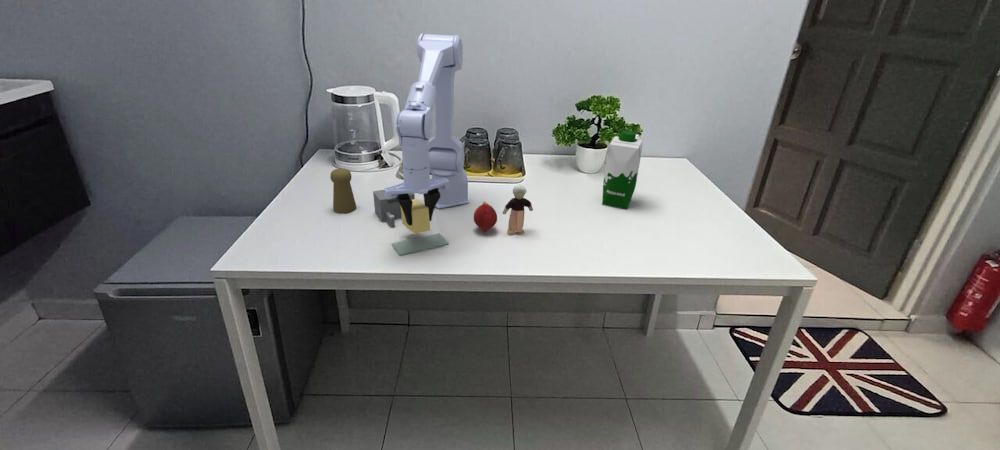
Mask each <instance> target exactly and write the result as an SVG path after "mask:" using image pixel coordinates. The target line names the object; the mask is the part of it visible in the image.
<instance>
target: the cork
mask: <svg viewBox="0 0 1000 450" xmlns="http://www.w3.org/2000/svg"><path fill="white" fill-rule="evenodd" d="M329 179H330V181H331V182H332V183H333V188H332V189H333V194H332V195H333V199H332V200H333V201H332V202H333V203H332V205H333V206H332V210H333V212H334V213H336V214H340V215H341V214H350V213H353V212H355V211H356V210H357V209H358V208H357V203H356V200H355V194H354V192H353V188H352V185H351V180H352V173H351V170H349V169H347V168H342V167H341V168H335V169H333V170H332V171H331V172H330V178H329Z"/></svg>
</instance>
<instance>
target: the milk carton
mask: <svg viewBox="0 0 1000 450" xmlns="http://www.w3.org/2000/svg"><path fill="white" fill-rule="evenodd" d="M636 135H637V132H635V131H634V130H633V131H632V130H621V131H620V136H616V135H615V136H614V137H613V139H612V140H611V142H610V143H609V146H608V149H607V155H606V156H607V157H606V161H605V170H604V175H603V183H602V201H601V202H602V204H601V205H602V206H603V205H604V206H607V207H608V206H609V207H614V208H619V209H624V210H627V209H628V207H629V205H630V203H631V200H632V199H633V198H632V197H633V195H634V192H635V189H636V185H637V181H638V180H637V179H638V176H639V169H640V164H641V157H642V151H643V140H642V139H637V138H636Z"/></svg>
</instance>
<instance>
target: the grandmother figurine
mask: <svg viewBox="0 0 1000 450" xmlns="http://www.w3.org/2000/svg"><path fill="white" fill-rule="evenodd" d="M526 193H527V189H526V187H525V186H523V185H522V184H516V185H514V186H513V187H512V194H513V196H514V197H512V198H511V199H510V200H509V201H508V202H507V203H506V204H505V206H504V208H503V211H502V214H503V215H506V214H507V213H508V211H509V210H510V209H511V210H510V214H509V220H508V225H507V227H508V229H507V231H506V234H507V235H509V236H512V235H515V233H517V234H518V235H520V234H525V230H524V229H523V228H524V223H525V207H526V208H527V209H528V210H529V211H530V212H532V211H533V210H534V208H533V205H532V202H531V201H530V200H528V199H527V198H525V195H526Z"/></svg>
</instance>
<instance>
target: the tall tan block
mask: <svg viewBox="0 0 1000 450" xmlns="http://www.w3.org/2000/svg"><path fill="white" fill-rule="evenodd" d="M412 201H413V202H412V225H410V226H409V225H408V224H407V222H406V218H405V215H404V212H403V210H402V207H401V215H402V218H401V223H402V225H403V226H404V227H406V228H407V229H408V230H409V231H410V232H411V233H413V234H420V233H424V232H428V231H431V223H430V222H431V221H430V220H429V208H428V207H427V206H426V205H425V203H423V202H421V201H420V200H419V199H417V198H415V199H413V200H412ZM400 206H401V205H400Z"/></svg>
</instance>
